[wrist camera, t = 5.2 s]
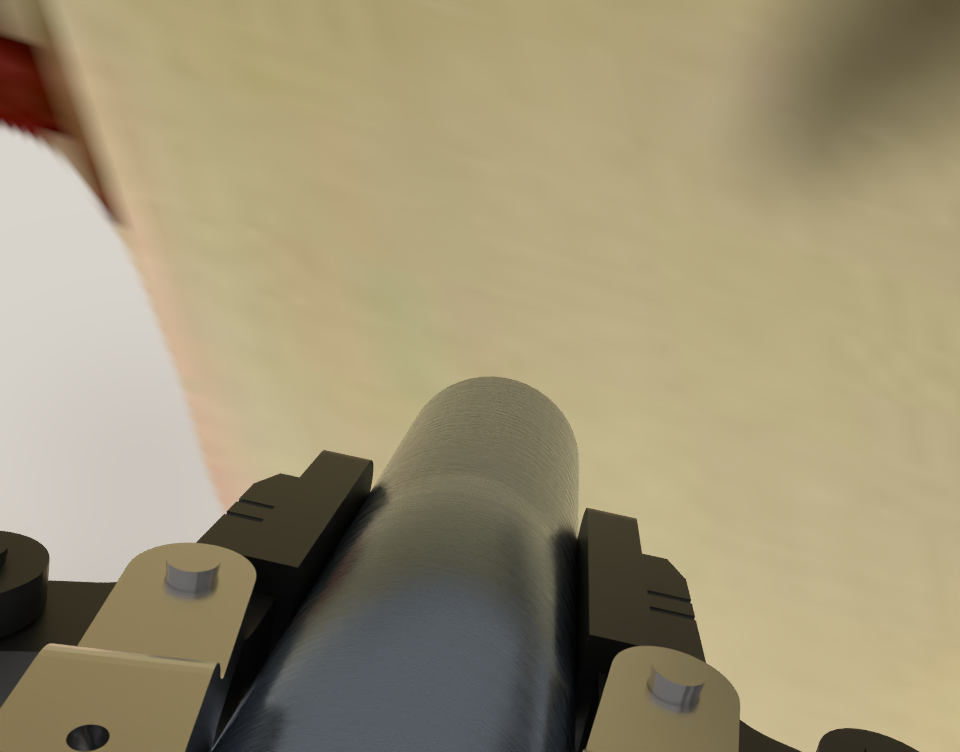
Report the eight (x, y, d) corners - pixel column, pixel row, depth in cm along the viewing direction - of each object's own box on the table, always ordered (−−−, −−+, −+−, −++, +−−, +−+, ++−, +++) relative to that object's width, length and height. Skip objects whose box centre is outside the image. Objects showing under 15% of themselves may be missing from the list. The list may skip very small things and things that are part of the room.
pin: (510, 342, 16) (321, 861, 4) (613, 483, 16) (689, 1292, 5) (372, 439, 17) (-107, 1099, 5) (473, 570, 17) (245, 1454, 6)
